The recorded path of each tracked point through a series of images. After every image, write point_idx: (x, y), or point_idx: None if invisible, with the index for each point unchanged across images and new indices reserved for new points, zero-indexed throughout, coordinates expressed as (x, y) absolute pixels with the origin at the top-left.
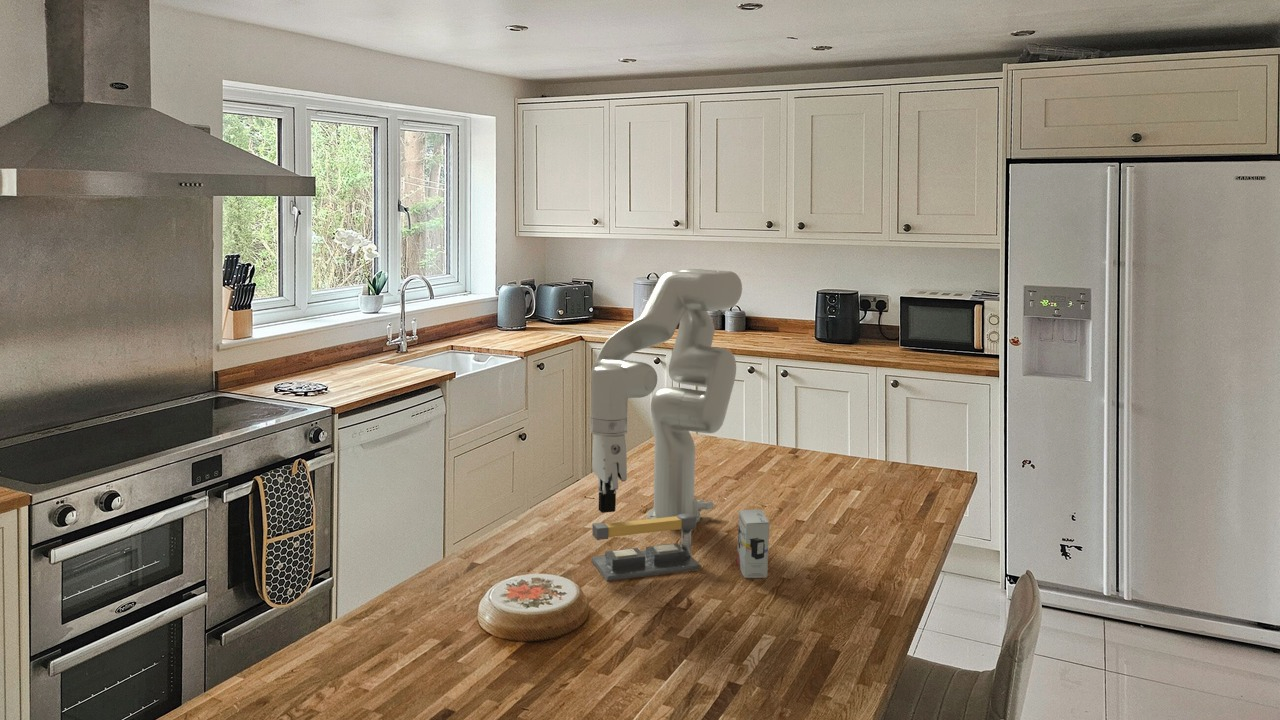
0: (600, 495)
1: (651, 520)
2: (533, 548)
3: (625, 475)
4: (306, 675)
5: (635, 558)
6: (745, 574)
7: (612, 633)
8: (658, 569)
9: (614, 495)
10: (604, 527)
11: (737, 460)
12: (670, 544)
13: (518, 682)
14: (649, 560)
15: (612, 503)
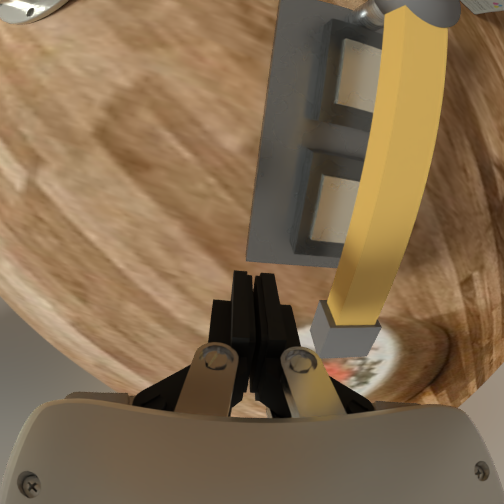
0: (256, 392)
1: (410, 137)
2: (127, 331)
3: (481, 446)
4: None
5: None
6: (480, 13)
7: (483, 311)
8: None
9: (282, 335)
10: (373, 337)
11: None
12: (347, 47)
13: (464, 387)
14: (346, 129)
15: (294, 322)
